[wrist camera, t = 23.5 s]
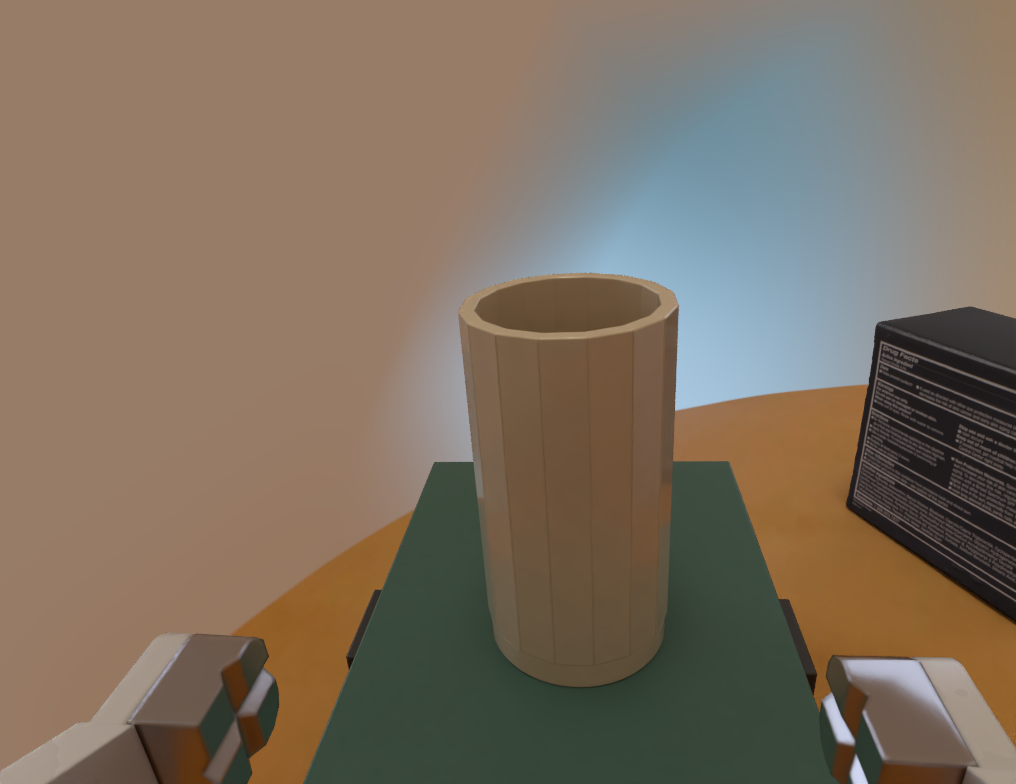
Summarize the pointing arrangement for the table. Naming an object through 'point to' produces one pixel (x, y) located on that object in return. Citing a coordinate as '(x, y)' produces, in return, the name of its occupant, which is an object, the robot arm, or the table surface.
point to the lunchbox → (577, 710)
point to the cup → (573, 468)
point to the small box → (944, 445)
